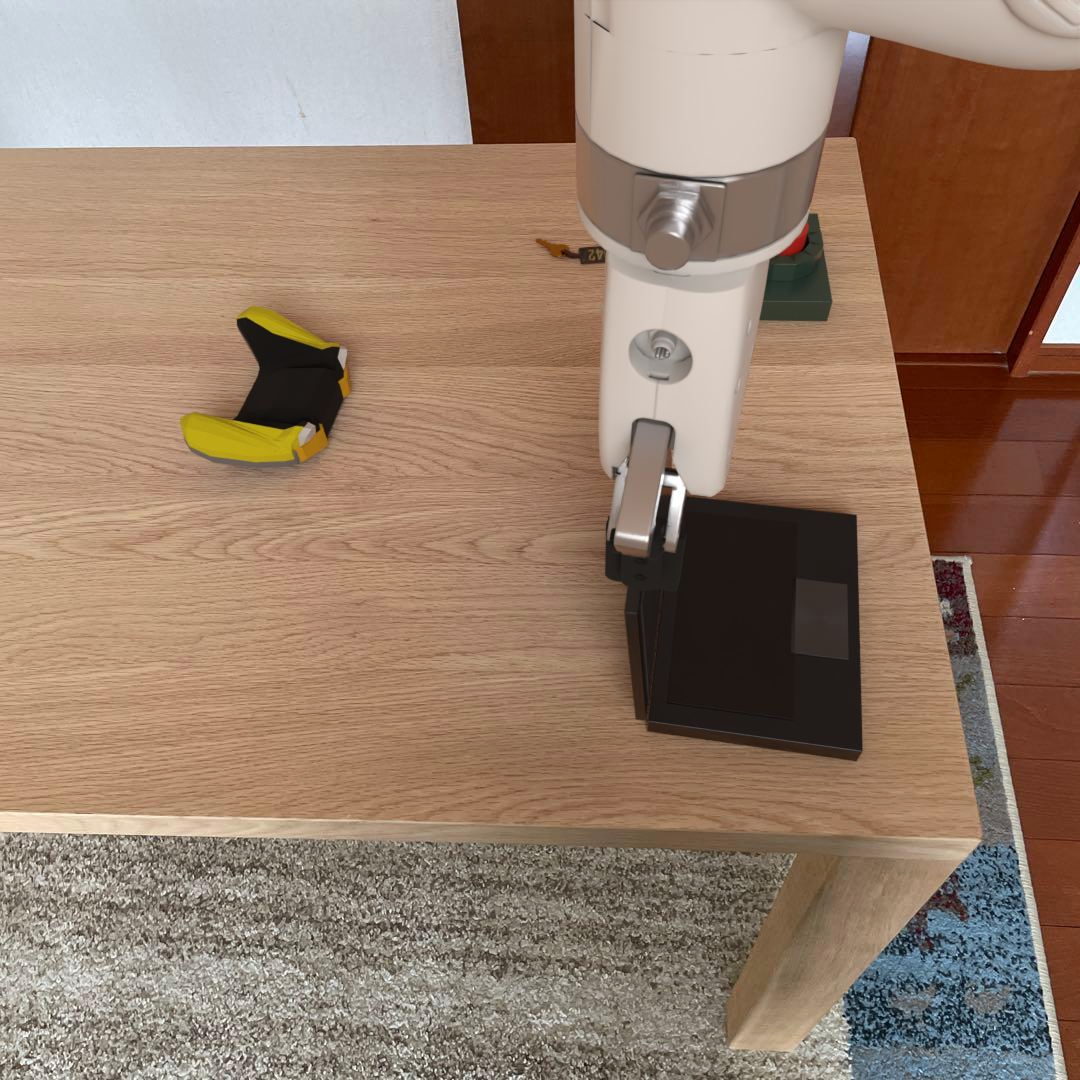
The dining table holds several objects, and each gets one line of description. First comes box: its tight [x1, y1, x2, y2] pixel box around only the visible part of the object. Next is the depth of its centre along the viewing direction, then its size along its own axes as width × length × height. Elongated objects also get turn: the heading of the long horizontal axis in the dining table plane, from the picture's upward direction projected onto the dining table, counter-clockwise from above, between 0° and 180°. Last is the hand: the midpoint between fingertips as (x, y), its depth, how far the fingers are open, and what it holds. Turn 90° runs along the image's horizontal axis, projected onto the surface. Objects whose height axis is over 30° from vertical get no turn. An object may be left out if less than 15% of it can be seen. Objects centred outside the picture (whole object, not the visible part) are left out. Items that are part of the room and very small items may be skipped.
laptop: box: [646, 495, 864, 762], centre depth 63 cm, size 13×18×2 cm
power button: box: [778, 222, 809, 255], centre depth 80 cm, size 4×4×2 cm
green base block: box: [759, 212, 833, 322], centre depth 82 cm, size 12×8×4 cm, turn 176°
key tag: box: [535, 238, 606, 265], centre depth 86 cm, size 8×3×1 cm, turn 80°
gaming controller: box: [179, 305, 352, 469], centre depth 74 cm, size 15×6×10 cm
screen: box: [623, 449, 673, 721], centre depth 58 cm, size 13×18×1 cm
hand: (662, 494), depth 43 cm, fingers open, 9 cm apart
